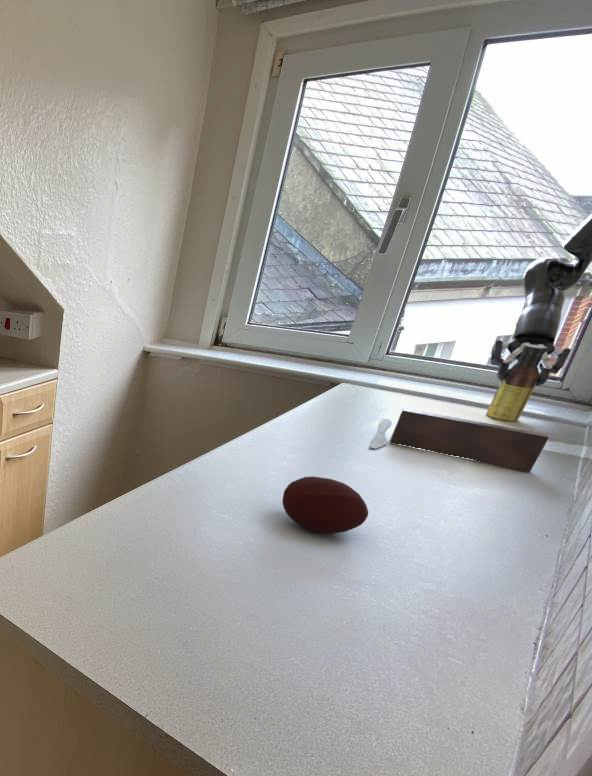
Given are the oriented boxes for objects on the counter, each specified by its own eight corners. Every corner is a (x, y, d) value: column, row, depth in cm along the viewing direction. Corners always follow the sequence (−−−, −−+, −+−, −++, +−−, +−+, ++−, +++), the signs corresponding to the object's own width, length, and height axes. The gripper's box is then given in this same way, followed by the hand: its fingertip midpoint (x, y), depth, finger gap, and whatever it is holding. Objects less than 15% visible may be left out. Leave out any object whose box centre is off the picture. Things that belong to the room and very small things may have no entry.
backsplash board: (527, 469, 116) (547, 434, 112) (529, 472, 114) (549, 437, 110) (389, 440, 128) (403, 408, 125) (389, 443, 127) (403, 410, 123)
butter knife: (396, 420, 140) (383, 417, 141) (381, 450, 122) (366, 445, 123) (395, 422, 140) (382, 419, 142) (380, 452, 122) (365, 448, 124)
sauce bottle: (496, 418, 145) (534, 342, 136) (521, 426, 139) (563, 348, 130) (475, 418, 144) (512, 342, 135) (500, 427, 138) (541, 348, 129)
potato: (260, 514, 94) (274, 470, 90) (306, 504, 98) (321, 462, 94) (323, 550, 84) (341, 502, 81) (370, 537, 88) (391, 491, 84)
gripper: (505, 313, 139) (488, 367, 136) (585, 320, 131) (568, 378, 128) (493, 331, 145) (476, 384, 142) (569, 339, 138) (553, 395, 134)
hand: (520, 381), depth 135 cm, fingers closed on sauce bottle, 6 cm apart
